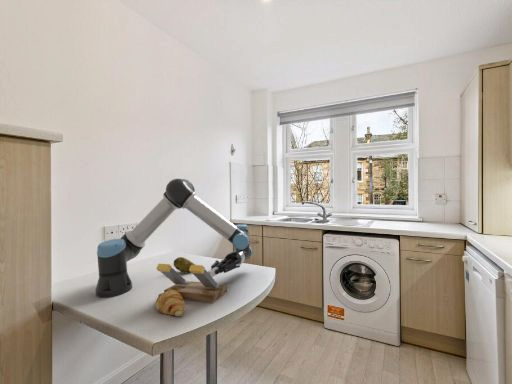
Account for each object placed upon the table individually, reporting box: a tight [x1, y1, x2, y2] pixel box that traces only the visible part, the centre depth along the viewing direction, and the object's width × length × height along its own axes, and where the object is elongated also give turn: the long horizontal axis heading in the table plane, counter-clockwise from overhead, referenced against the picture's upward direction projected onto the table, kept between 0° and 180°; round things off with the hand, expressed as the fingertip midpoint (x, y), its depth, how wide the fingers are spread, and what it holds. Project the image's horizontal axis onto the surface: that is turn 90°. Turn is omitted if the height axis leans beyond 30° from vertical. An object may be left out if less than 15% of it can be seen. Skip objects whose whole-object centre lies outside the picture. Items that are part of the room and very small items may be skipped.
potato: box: [173, 256, 196, 274], centre depth 146 cm, size 8×13×8 cm, turn 52°
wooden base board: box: [163, 280, 228, 304], centre depth 113 cm, size 12×24×3 cm, turn 68°
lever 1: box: [155, 263, 189, 285], centre depth 111 cm, size 2×6×15 cm
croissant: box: [155, 290, 186, 317], centre depth 100 cm, size 21×10×8 cm, turn 40°
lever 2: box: [189, 264, 220, 288], centre depth 105 cm, size 2×6×15 cm
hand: (209, 274), depth 108 cm, fingers closed
